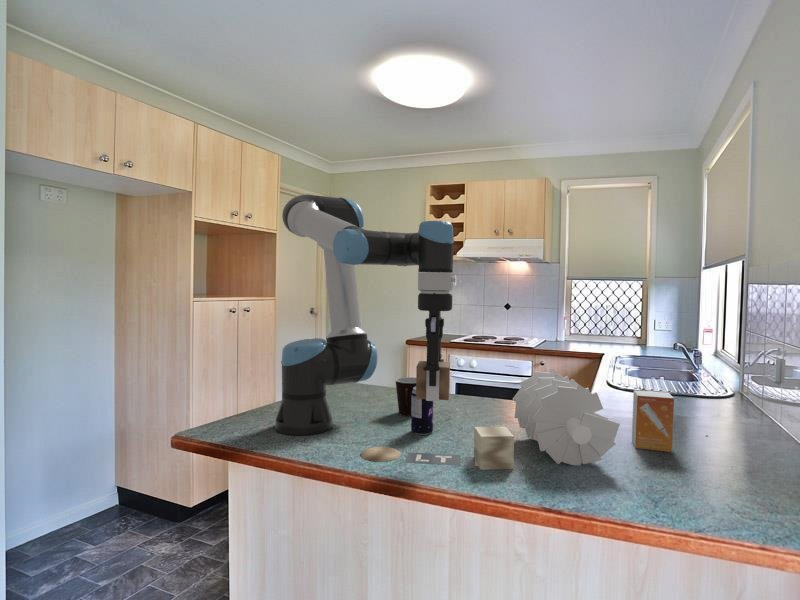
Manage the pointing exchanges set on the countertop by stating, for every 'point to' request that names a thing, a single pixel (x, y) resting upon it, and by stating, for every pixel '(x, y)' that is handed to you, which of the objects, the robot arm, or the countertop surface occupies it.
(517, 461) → the code tile
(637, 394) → the small box
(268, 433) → the countertop surface
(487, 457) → the birch block
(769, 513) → the countertop surface
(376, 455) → the cork coaster
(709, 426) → the countertop surface
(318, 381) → the robot arm
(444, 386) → the walnut block
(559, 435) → the spiral staircase
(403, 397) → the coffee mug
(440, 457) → the tile
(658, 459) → the countertop surface
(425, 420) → the beverage can
